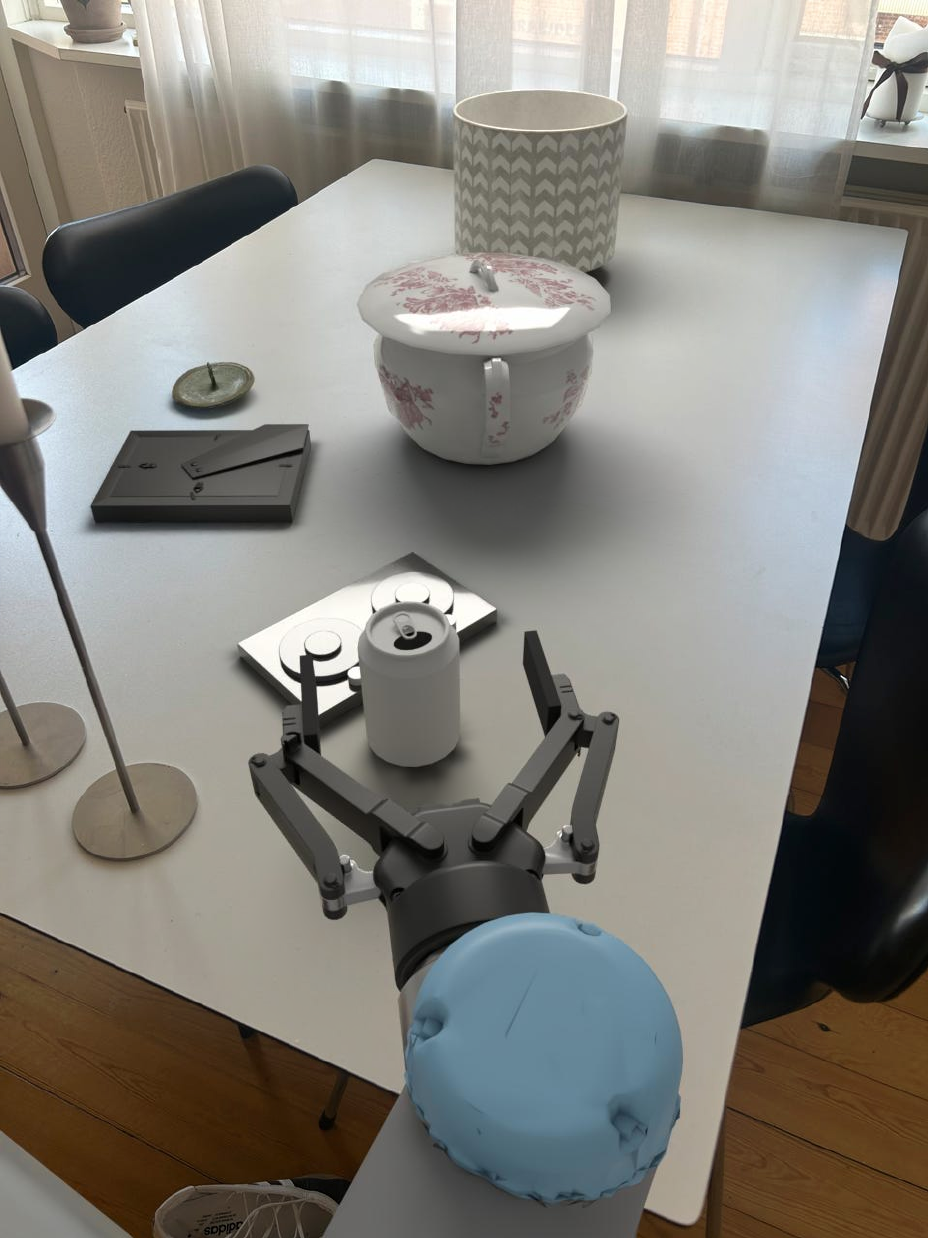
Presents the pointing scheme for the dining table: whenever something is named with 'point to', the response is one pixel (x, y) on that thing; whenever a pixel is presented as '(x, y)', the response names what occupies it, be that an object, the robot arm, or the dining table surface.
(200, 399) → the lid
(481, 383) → the chamber pot
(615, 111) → the planter
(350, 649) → the hob
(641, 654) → the dining table surface
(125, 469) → the picture frame
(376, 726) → the can
